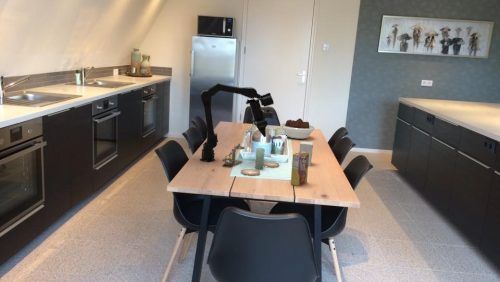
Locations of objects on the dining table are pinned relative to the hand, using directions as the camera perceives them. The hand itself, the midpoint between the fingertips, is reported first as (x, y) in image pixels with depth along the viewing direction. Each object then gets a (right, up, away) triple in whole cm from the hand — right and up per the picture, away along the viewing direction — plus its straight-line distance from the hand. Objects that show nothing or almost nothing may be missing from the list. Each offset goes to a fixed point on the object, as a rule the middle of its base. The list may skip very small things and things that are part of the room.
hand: (263, 135), depth 237 cm
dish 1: (-8, -20, -21) cm, 30 cm away
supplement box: (+24, -17, +6) cm, 30 cm away
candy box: (+16, -24, -33) cm, 44 cm away
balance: (-17, -16, -4) cm, 24 cm away
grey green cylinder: (-3, -18, -11) cm, 21 cm away
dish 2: (+4, -17, -2) cm, 17 cm away
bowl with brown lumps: (+28, -1, +84) cm, 88 cm away
